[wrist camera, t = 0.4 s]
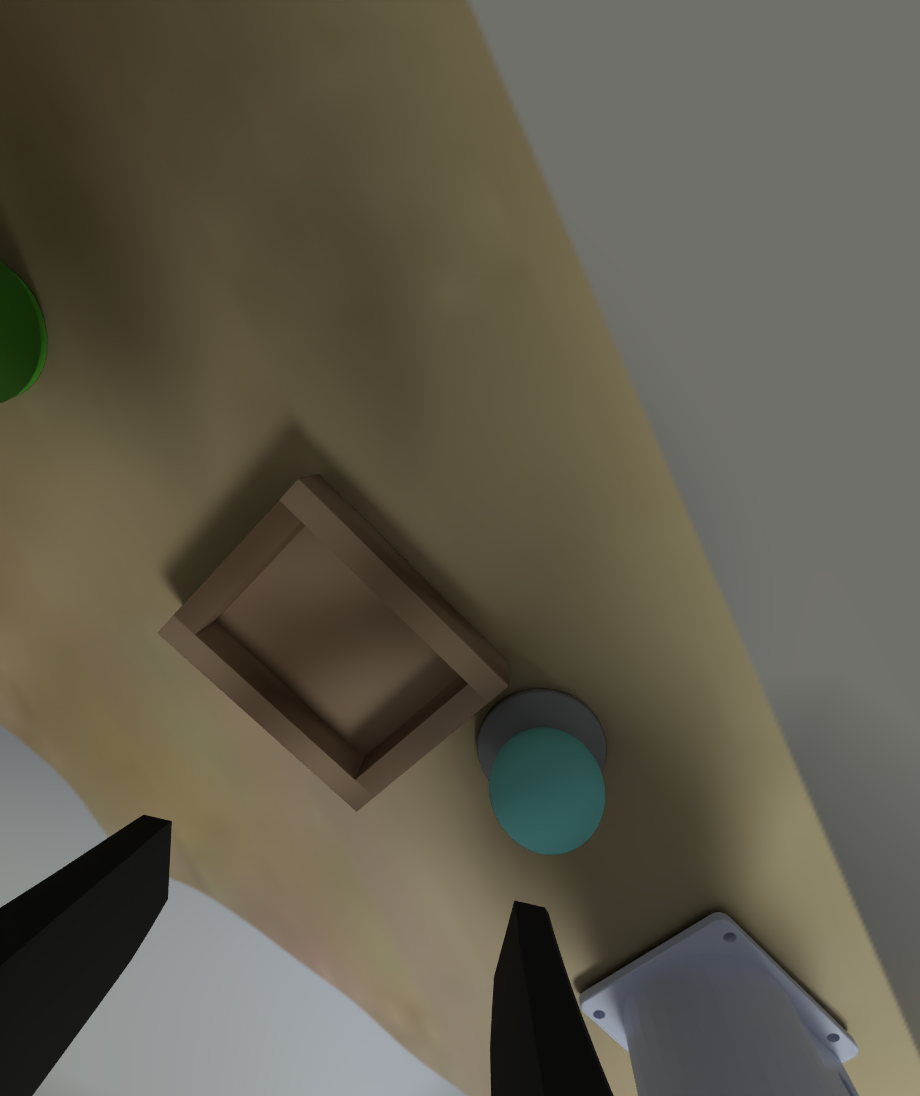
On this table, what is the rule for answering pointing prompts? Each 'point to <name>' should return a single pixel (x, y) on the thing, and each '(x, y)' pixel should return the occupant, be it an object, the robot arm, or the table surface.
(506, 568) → the table surface
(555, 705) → the coaster
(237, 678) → the tray
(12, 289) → the cup
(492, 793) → the ball
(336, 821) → the table surface
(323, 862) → the table surface
